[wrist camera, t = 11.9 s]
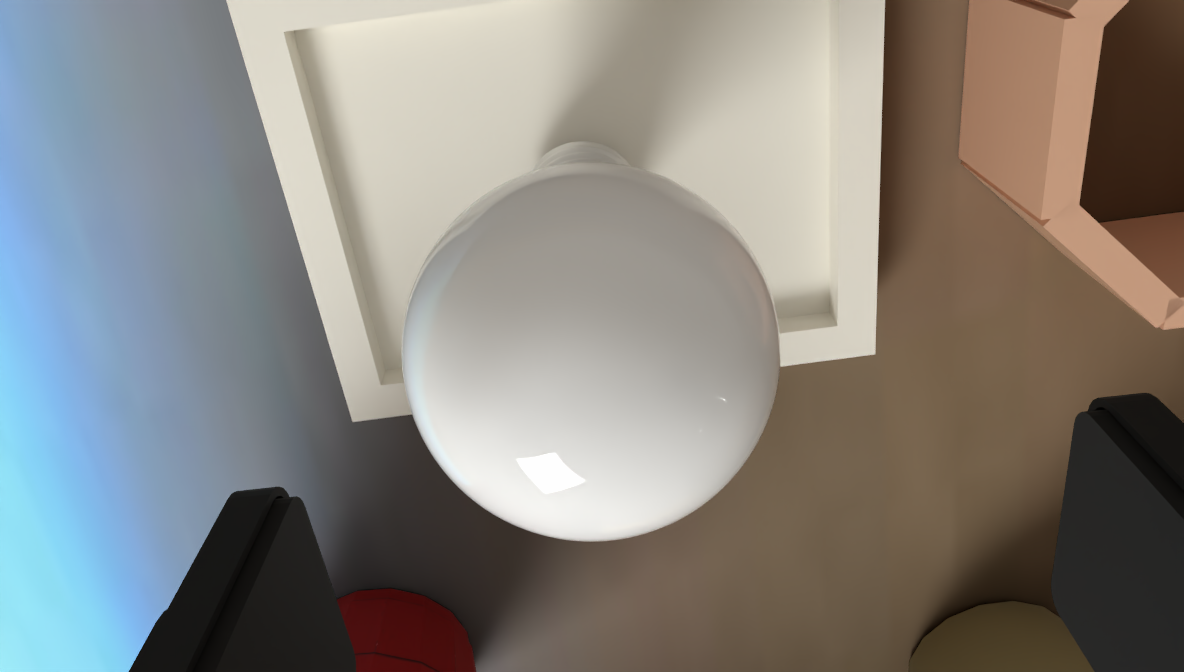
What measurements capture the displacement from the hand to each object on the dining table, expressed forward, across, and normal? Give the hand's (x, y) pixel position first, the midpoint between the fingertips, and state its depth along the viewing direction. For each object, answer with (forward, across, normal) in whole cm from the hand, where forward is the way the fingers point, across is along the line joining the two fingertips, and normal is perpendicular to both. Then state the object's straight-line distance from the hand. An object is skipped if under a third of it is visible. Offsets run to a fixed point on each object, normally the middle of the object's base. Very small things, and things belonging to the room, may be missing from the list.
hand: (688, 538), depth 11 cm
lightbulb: (+13, +1, 0) cm, 13 cm away
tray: (+14, +1, 0) cm, 14 cm away
